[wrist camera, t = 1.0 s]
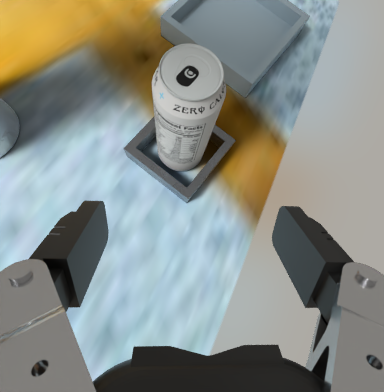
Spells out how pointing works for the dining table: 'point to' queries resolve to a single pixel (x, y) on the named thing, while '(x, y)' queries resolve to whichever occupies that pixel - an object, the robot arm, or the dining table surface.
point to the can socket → (166, 179)
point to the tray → (236, 34)
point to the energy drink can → (186, 103)
